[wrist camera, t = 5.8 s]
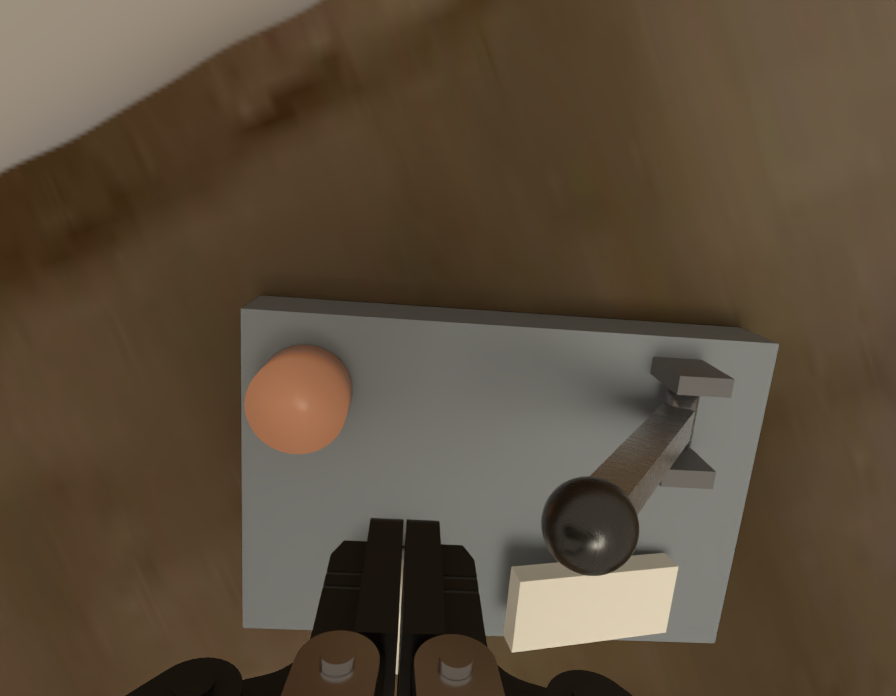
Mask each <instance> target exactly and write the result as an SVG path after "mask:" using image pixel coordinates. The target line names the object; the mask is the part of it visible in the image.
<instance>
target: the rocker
mask: <svg viewBox="0 0 896 696" xmlns="http://www.w3.org/2000/svg"><path fill="white" fill-rule="evenodd" d="M678 567H679V566H678V565H677V564H675V563H674V562H673V561H672V560H671V559H670V558H669V557H668V556H667V555H666V554H665V553H656V554H645V555H634V556H631V557H630V559H629V560H628V561H627V562H626V563H625V564H624V565H623V566H622V567H620V568H619V569H617V570H616V571H614V572H611V573H609V574H606V575H601V576H585V575H581V574H578V573H575V572H573V571H571V570H569V569H567V568H565V567H564V566H562V565H561V564H560V563H559V562H557V563H546V564H535V565H523V566H512V567H511V573H510V582H509V590H508V599H507V608H506V616H505V625H504V634H503V635H504V637H505V640H506V642H507V644H508V646H509V648H510V650H511V652H512V653H513V652H521V651H528V650H536V649H544V648H551V647H559V646H567V645H574V644H582V643H590V642H597V641H605V640H613V639H620V638H628V637H636V636H643V635H651V634H659V633H666V629H667V624H668V619H669V614H670V608H671V603H672V598H673V593H674V588H675V582H676V577H677V572H678Z"/></svg>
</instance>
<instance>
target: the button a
mask: <svg viewBox="0 0 896 696" xmlns="http://www.w3.org/2000/svg"><path fill="white" fill-rule="evenodd" d="M352 394H353V387H352V381H351V378H350V375H349V373H348V370H347V369H346V367H345V366H344V364H343V363H342V362H341V361H340V360H339V358H337V357H336V356H335V355H334V354H332V353H331V352H329V351H327V350H325V349H323V348H320V347H317V346H313V345H295V346H291V347H287V348H285V349H283V350H281V351H279V352H277V353H276V354H275V355H273V356H272V357H271V358H270V359H269V360H268V362H267V363H266V364H265V365H264V366H263V367H262V368H261V369H260V371H259V372H258V373H257V374H256V375H255V376H254V378H253V379H252V380H251V382H250V384H249V386H248V388H247V391H246V395H245V403H244V406H245V414H246V418H247V421H248V423H249V425H250V427H251V429H252V430H253V432H254V433H255V435H256V436H257V437H258V438H259V439H260V440H261V441H263V442H264V443H265V444H266V445H268V446H270V447H271V448H273V449H275V450H278V451H281V452H284V453H288V454H307V453H311V452H315V451H318V450H320V449H322V448H324V447H326V446H327V445H328V444H330V443H331V442H332V441H333V440H334V439H335V438H336V437H337V436H338V434H339V433H340V431H341V430H342V428H343V425H344V423H345V420H346V417H347V414H348V410H349V407H350V404H351V400H352Z"/></svg>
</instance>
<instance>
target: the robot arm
mask: <svg viewBox="0 0 896 696" xmlns="http://www.w3.org/2000/svg"><path fill="white" fill-rule="evenodd" d="M403 523H404V519H387V518H371V519H370V525H369V532H368V539H367V541H347V540H344V541H343V542H342V543H341V544H340V545H339V546H338V547H337V548H336V549H335V550H334V551H333V552H332V554H331V555H330V560H329V564H328V568H327V574H326V576H325V580H324V584H323V588H322V593H321V597H320V601H319V605H318V609H317V613H316V617H315V622H314V626H313V630H312V634H311V638H310V640H308V641H307V642H306V643H305V644H303V645H302V646H301V648H300V649H299V650H298V652H297V654H296V656H295V659H294V661H293V663H291V664H290V665H288V666H287V667H285V668H283V669H281V670H279V671H276V672H274V673H270V674H267V675H263V676H258V677H254V678H250V679H245V680H242V676H241V674H240V672H239V670H238V669H237V668H236V667H235V666H234V665H232V664H231V663H229V662H227V661H225V660H222V659H217V658H197V659H192V660H188V661H185V662H182V663H180V664H177V665H175V666H173V667H171V668H169V669H168V670H166V671H164V672H163V673H161V674H160V675H158V676H156V677H155V678H153V679H151V680H150V681H148V682H147V683H145V684H143V685H142V686H140V687H139V688H137V689H135V690H134V691H132V692H130V693H129V694H127V695H126V696H394V689H395V673H396V658H397V642H398V625H399V604H400V584H401V564H402V543H403ZM397 696H632V695H631V694H630V693H628V692H627V691H626V690H624V689H623V688H622V687H620V686H619V685H618V684H616V683H615V682H613V681H612V680H610V679H609V678H607V677H605V676H603V675H600V674H597V673H594V672H590V671H584V670H571V671H566V672H563V673H561V674H559V675H557V676H555V677H554V678H553V679H552V680H551V682H550V683H549V684H548V687H547V688H545V687H541V686H538V685H535V684H531V683H528V682H525V681H522V680H519V679H517V678H515V677H513V676H511V675H510V674H508V673H507V672H505V671H504V670H503V669H502V668H500V667H499V666H498V665H497V662H496V659H495V657H494V655H493V654H492V652H491V651H490V650H489V649H488V648H487V643H486V636H485V629H484V622H483V615H482V608H481V601H480V594H479V588H478V581H477V574H476V567H475V560H474V559H473V557H472V556H471V555H470V554H469V552H468V551H467V550H466V549H465V547H464V546H463V545H445V544H441V537H440V522H439V521H435V520H412V519H407V521H406V535H405V550H404V566H403V581H402V598H401V617H400V639H399V661H398V683H397Z"/></svg>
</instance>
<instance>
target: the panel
mask: <svg viewBox="0 0 896 696" xmlns="http://www.w3.org/2000/svg"><path fill="white" fill-rule="evenodd" d="M295 345H313V346H317V347H320V348H323V349H325V350H327V351H329V352H331V353H332V354H334V355H335V356H336V357H337V358H339V360H340V361H341V362H342V363H343V364H344V366H345V367H346V369H347V370H348V373H349V375H350V378H351V381H352V387H353V394H352V400H351V404H350V407H349V410H348V414H347V417H346V420H345V423H344V425H343V428H342V430H341V431H340V433H339V434H338V436H337V437H336V438H335V439H334V440H333V441H332V442H331V443H330V444H328V445H327V446H326V447H324V448H322V449H320V450H318V451H315V452H311V453H307V454H288V453H284V452H281V451H278V450H275V449H273V448H271V447H270V446H268V445H266V444H265V443H264V442H263V441H261V440H260V439H259V438H258V437H257V436H256V435H255V433H254V432H253V430H252V429H251V427H250V425H249V423H248V421H247V418H246V414H245V406H244V403H245V395H246V391H247V388H248V386H249V384H250V382H251V380H252V379H253V378H254V376H255V375H256V374H257V373H258V372H259V371H260V369H261V368H262V367H263V366H264V365H265V364H266V363H267V362H268V360H269V359H270V358H271V357H272V356H273V355H275V354H276V353H277V352H279V351H281V350H283V349H285V348H287V347H291V346H295ZM778 347H779V344H778V343H776V342H774V341H771V340H769V339H767V338H764V337H762V336H760V335H757V334H755V333H752V332H750V331H748V330H745V329H743V328H741V327H726V326H711V325H696V324H681V323H666V322H651V321H636V320H621V319H606V318H591V317H576V316H561V315H547V314H532V313H517V312H502V311H487V310H472V309H457V308H442V307H427V306H412V305H397V304H382V303H367V302H352V301H337V300H322V299H307V298H293V297H278V296H263V295H260V296H259V297H257V298H256V299H254V300H253V301H251V302H250V303H248V304H247V305H245V306H244V307H242V308H241V427H242V584H243V628H261V629H292V630H313V626H314V622H315V617H316V613H317V609H318V605H319V601H320V597H321V593H322V588H323V584H324V580H325V576H326V574H327V568H328V564H329V560H330V555H331V554H332V552H333V551H334V550H335V549H336V548H337V547H338V546H339V545H340V544H341V543H342V542H343V541H344V540H347V541H367V539H368V532H369V525H370V519H371V518H387V519H404V523H403V543H402V548H405V535H406V521H407V519H412V520H435V521H439V522H440V537H441V544H445V545H463V546H464V547H465V549H466V550H467V551H468V552H469V554H470V555H471V556H472V557H473V559H474V560H475V567H476V574H477V581H478V588H479V594H480V601H481V608H482V615H483V622H484V629H485V636H504V635H503V634H504V625H505V616H506V608H507V599H508V590H509V582H510V573H511V567H512V566H523V565H535V564H546V563H557V562H558V561H557V560H556V559H555V558H554V557H553V556H552V554H551V553H550V551H549V550H548V548H547V546H546V544H545V542H544V539H543V535H542V529H541V517H542V512H543V508H544V505H545V503H546V501H547V499H548V497H549V496H550V495H551V493H552V492H553V491H554V490H555V489H556V488H557V487H558V486H560V485H561V484H562V483H564V482H566V481H568V480H570V479H573V478H577V477H584V476H590V475H591V474H592V473H593V472H594V471H595V470H596V469H597V468H598V467H599V466H600V465H601V464H602V463H603V462H604V461H605V460H606V459H607V458H608V457H609V456H610V455H611V454H612V453H613V452H614V451H615V450H616V449H617V448H618V447H619V446H620V445H621V444H622V443H623V442H624V441H625V440H626V439H627V438H628V437H629V436H630V435H631V434H632V433H633V432H634V431H635V430H636V429H637V428H638V427H639V426H640V425H641V424H642V423H643V422H644V421H645V420H646V419H647V418H648V417H649V416H650V415H651V414H652V413H653V412H654V411H655V410H656V409H657V408H658V407H659V406H660V405H661V404H662V403H664V404H665V399H666V394H667V388H669V389H670V390H672V391H673V392H674V393H675V394H677V395H690V396H700V399H699V404H698V410H697V415H696V420H695V426H694V431H693V436H692V442H691V447H690V449H689V450H686V451H682V452H681V454H680V455H679V456H678V458H677V459H676V461H675V462H674V464H673V465H672V466H671V468H670V469H669V471H668V472H667V474H666V475H665V476H664V478H663V479H662V481H661V482H660V483H659V485H658V486H657V488H656V489H655V491H654V492H653V493H652V495H651V496H650V498H649V499H648V501H647V502H646V503H645V505H644V506H643V508H642V509H641V511H640V512H639V513H638V520H639V539H638V543H637V546H636V548H635V551H634V553H633V554H632V556H634V555H645V554H656V553H665V554H666V555H667V556H668V557H669V558H670V559H671V560H672V561H673V562H674V563H675V564H677V565H678V566H679V567H678V572H677V577H676V582H675V588H674V593H673V598H672V603H671V608H670V614H669V619H668V624H667V629H666V633H659V634H651V635H643V636H636V637H628V638H620V639H613V640H632V641H663V642H694V643H715V639H716V635H717V630H718V625H719V621H720V616H721V611H722V607H723V602H724V598H725V593H726V588H727V584H728V579H729V574H730V570H731V565H732V560H733V556H734V551H735V546H736V542H737V537H738V533H739V528H740V523H741V519H742V514H743V509H744V505H745V500H746V495H747V491H748V486H749V481H750V477H751V472H752V468H753V463H754V458H755V454H756V449H757V444H758V440H759V435H760V430H761V426H762V421H763V417H764V412H765V407H766V403H767V398H768V393H769V389H770V384H771V379H772V375H773V370H774V365H775V361H776V356H777V352H778Z"/></svg>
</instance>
